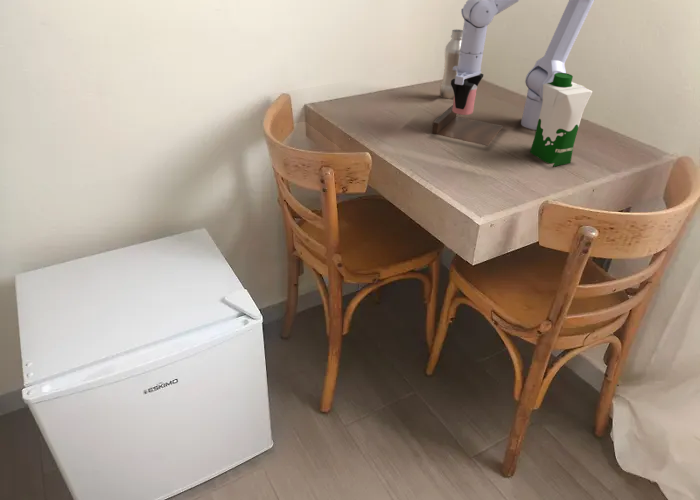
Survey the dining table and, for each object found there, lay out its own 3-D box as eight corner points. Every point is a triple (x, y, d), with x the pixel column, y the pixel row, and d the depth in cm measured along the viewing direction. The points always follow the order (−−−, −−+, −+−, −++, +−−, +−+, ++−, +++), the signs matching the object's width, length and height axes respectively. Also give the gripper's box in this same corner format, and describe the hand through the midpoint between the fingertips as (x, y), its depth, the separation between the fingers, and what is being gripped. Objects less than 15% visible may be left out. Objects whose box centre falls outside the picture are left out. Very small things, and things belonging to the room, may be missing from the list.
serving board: (502, 130, 147) (505, 115, 144) (486, 150, 136) (489, 134, 133) (450, 119, 152) (452, 104, 150) (431, 137, 142) (433, 122, 139)
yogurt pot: (475, 109, 143) (480, 84, 139) (469, 116, 139) (473, 90, 135) (456, 105, 145) (459, 81, 141) (449, 112, 141) (452, 86, 137)
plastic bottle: (463, 98, 167) (473, 30, 155) (454, 104, 162) (464, 35, 151) (444, 94, 170) (452, 27, 158) (435, 100, 165) (443, 31, 153)
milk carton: (551, 149, 137) (571, 70, 125) (576, 164, 130) (600, 82, 119) (523, 155, 134) (541, 74, 122) (547, 170, 127) (569, 86, 116)
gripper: (465, 42, 140) (458, 94, 147) (446, 55, 129) (439, 110, 137) (492, 46, 137) (483, 98, 145) (474, 60, 126) (465, 115, 134)
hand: (463, 104), depth 141 cm, fingers closed on yogurt pot, 5 cm apart
